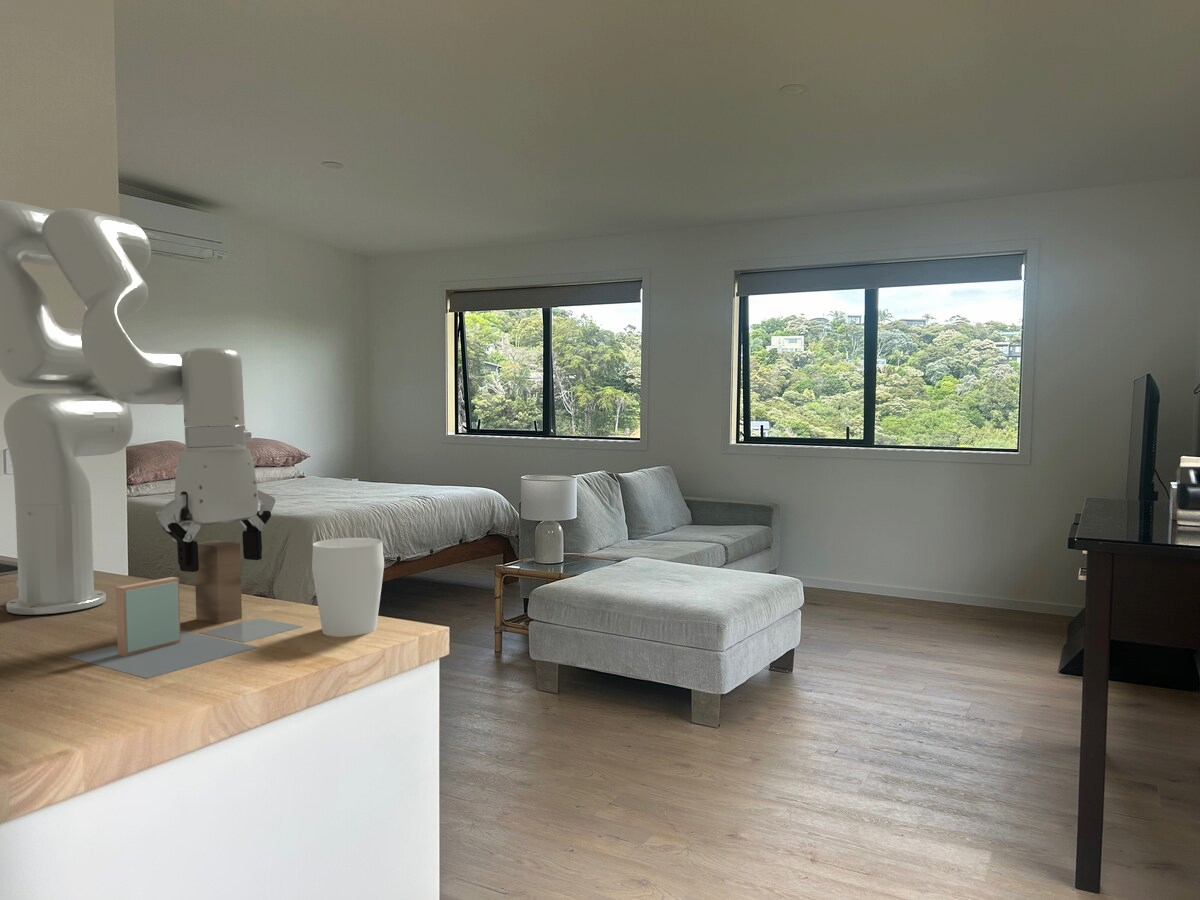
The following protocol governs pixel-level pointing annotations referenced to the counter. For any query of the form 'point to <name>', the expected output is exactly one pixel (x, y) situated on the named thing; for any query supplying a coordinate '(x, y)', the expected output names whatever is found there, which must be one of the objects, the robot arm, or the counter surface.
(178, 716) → the counter surface
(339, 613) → the cup
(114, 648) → the mat
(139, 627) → the tile
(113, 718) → the counter surface
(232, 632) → the coaster
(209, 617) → the bar
